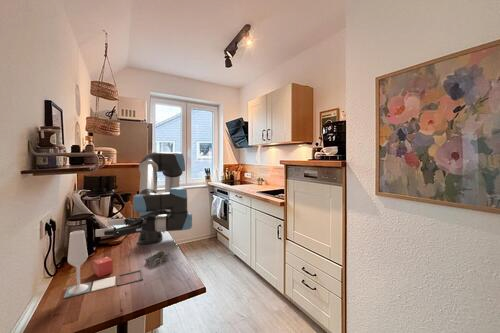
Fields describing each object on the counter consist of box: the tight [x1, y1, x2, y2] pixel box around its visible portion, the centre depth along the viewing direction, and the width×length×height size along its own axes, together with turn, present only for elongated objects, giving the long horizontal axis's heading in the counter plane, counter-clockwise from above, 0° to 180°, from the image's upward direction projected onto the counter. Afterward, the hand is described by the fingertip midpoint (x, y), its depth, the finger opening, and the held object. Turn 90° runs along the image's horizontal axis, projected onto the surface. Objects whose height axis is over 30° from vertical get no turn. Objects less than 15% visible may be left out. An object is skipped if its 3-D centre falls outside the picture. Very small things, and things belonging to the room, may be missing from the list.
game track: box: [62, 269, 144, 300], centre depth 98 cm, size 28×10×1 cm, turn 119°
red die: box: [93, 256, 114, 278], centre depth 108 cm, size 6×6×7 cm
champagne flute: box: [67, 230, 89, 294], centre depth 93 cm, size 7×7×24 cm
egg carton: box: [144, 250, 169, 267], centre depth 119 cm, size 11×8×4 cm
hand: (102, 227), depth 94 cm, fingers open, 13 cm apart
